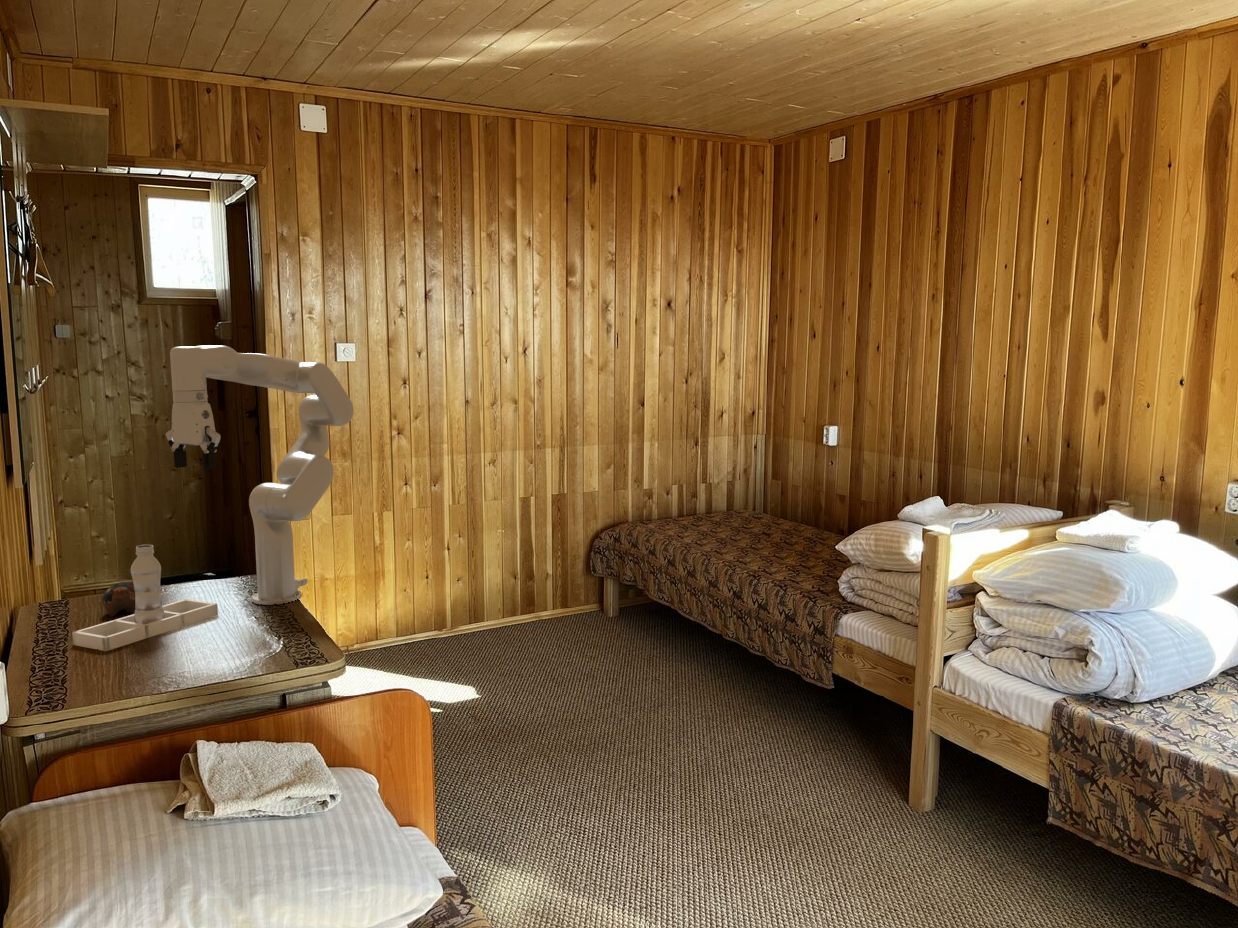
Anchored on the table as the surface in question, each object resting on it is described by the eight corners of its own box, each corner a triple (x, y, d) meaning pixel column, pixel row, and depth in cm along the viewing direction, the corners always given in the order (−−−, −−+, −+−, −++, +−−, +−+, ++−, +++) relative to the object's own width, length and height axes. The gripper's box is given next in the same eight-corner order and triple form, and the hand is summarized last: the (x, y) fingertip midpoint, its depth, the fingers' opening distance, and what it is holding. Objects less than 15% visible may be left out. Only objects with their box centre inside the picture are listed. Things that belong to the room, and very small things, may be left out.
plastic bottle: (157, 631, 220) (152, 549, 217) (129, 631, 220) (123, 549, 217) (170, 623, 226) (165, 543, 224) (143, 623, 226) (137, 543, 224)
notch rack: (186, 610, 239) (186, 598, 238) (217, 615, 234) (217, 603, 234) (73, 644, 211) (72, 632, 210) (106, 651, 206) (105, 638, 206)
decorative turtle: (102, 622, 229) (98, 590, 228) (105, 611, 242) (101, 581, 241) (146, 615, 233) (142, 583, 232) (147, 604, 246) (143, 575, 246)
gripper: (228, 397, 223) (233, 468, 225) (178, 396, 230) (182, 464, 232) (203, 399, 216) (208, 472, 218) (151, 398, 223) (156, 468, 226)
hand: (195, 468), depth 225 cm, fingers open, 9 cm apart
